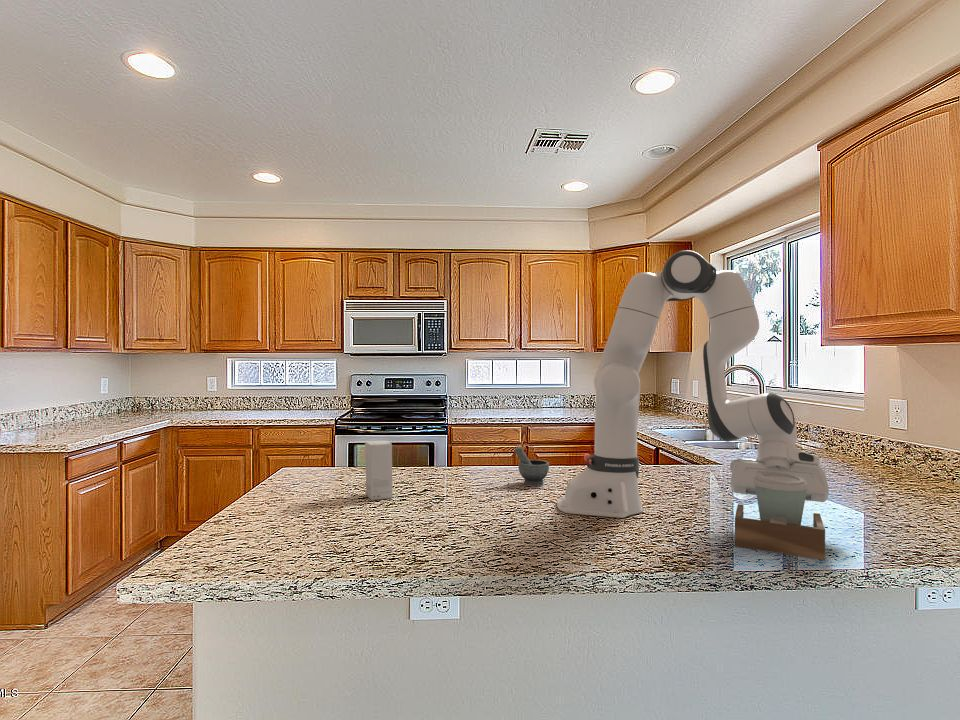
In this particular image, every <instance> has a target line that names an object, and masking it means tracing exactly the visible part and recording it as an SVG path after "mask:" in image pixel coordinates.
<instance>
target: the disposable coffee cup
mask: <svg viewBox="0 0 960 720" xmlns="http://www.w3.org/2000/svg"><path fill="white" fill-rule="evenodd" d="M753 484H755V488H756V494H757V495H756V500H757V507H758V512H759V520H763V521H770V516H776V517H784V518H787V524H795V525H802V519H803V514H804V507H805V501H806V500H805V497H806V491H807V489H808V487H807V482H806V481H804V479H803V478H801V477H799V476H796V475H792V474H788V473H784V472H778V471H769V470H761V471H758V472H756V477H754V481H753Z"/></svg>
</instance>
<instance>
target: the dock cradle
mask: <svg viewBox="0 0 960 720" xmlns="http://www.w3.org/2000/svg"><path fill="white" fill-rule="evenodd" d="M812 517H813V518H812V520H813V521H812V524H813V525H812V526H809V525H808V526H807V525H802V524H801V525H795V524H787V518H784V517H776V516H770V521H763V520H760V519H754V518H746V517H744V504H741V503H740V504H739V503H738V504H737V507H736V511H735V515H734V547H737V548H744V549H749V548H750V549H751V550H757V551H763V552H771V553H778V554H783V555H791V556H795V557H803V558H808V559H816V560H821V561H822V560H823V561H825V560H826V528H825V526H824V523H823V520H822V516H821V513H815V512H813V516H812Z"/></svg>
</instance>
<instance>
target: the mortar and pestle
mask: <svg viewBox="0 0 960 720" xmlns="http://www.w3.org/2000/svg"><path fill="white" fill-rule="evenodd" d="M523 449H524V448H523V446H521V445H520V446H518V447H516V448H514V453H516V455H517V458H518V460H519V461H518V471H519V474H520V476H521V477H522V478H523V479H524V480H523V485H525V486H527V487H541V486H544V479H545V478H546V477H547V475H548V474H549V469H550V462H549V461H547V460H541V459H529V458H528V456H527V454H526V453H525V452H524V450H523Z"/></svg>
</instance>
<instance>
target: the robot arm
mask: <svg viewBox="0 0 960 720" xmlns="http://www.w3.org/2000/svg"><path fill="white" fill-rule="evenodd" d="M694 298H697V299H699V301H700V302H702V304H703V306H704V308H705V310H706V315H707V318H708V321H709V327H710V330H709V336H708V340H707V341H706V342H705V343H704V345H703V351H702V352H703V353H702V356H703V357H702V358H703V360H702V361H703V369H704V370H703V371H704V379H705V388H706V398H707V422H708V427H709V430H710V431H711V432H710V433H712V434H713V435H714V436H715V437H716V438H718V439H720V440H722V441H724V442H726V443H728V442H731V441H737V440H740V439H743V438H748V437H755V436H757V440H758V446H757V450H756V451H757V453H756V459H753V458H742V457H741V458H738V457H737V459H734V460H732V461H731V462H730V463H729V466H730V467H729V470H730V471H731V476H730V489H731V490H732V492H733V493H735V494H741V495H752V496H757V494H756V488H755V484H753V481H754V477H756V472H758V471H761V470H769V471H778V472H784V473H788V474H792V475H796V476H799V477H801V478H803V479H804V481H806V482H807V487H808V489H807V491H806V497H805V501H807V502H818V503H825V502H826V501H828V499H829V495H830V493H829V492H830V491H829V483H828V479H827V475H826V472H825V471H824V469H823V468H821V461H820V457H819V456H817V455H815V454H812V453H807V452H805V451H802V450H799V449H798V447H797V446H796V445H797V441H798V433H797V432H798V428H797V424H796V419H795V414H794V411H793V409H792V407H791V405H790V404H789V402H788V401H787V400H786V399H785V398H782V397H781V396H780V395H778V394H776V393H774V392H765V393H760V394H755V395H751V396H747V397H743V398H742V397H741V398H738V399H733V400H729V399H728V394H727V385H726V384H727V383H726V376H725V367H726V365H727V363H728V362H729V360H731V358H732V357H733V356H735V355H736V354H737V353H739V352H740V351H741V350H743V349H745V348H746V347H748V345H750V344H751V342H752V341H754V339H755V337H756V336H758V335H757V334H758V332H759V329H760V321H759V320H760V319H759V315H758V311H757V308H756V305H755V302H754V300H753V297H752V294H751V293H750V290H749V288H748V285H747V283H746V282H745V280H744V278H743V277H742V276H741V274H740V273H738V272H737V271H736V270H732V269H731V270H727V269H723V270H720V271H717V268H716V267H715V266H713V265H712V264H711V263H710V262H709V261H708V260H707V259H705V257H703V256H702V255H701V254H699V253H698V252H695V251H694V250H688V249H687V250H680V251H678V252H675V253H674V254H672V255H671V256H670V257H668V259H667V260H666V261H665V263H664V265H663V268H662V270H661V271H660V272H657V273H655V272H654V273H653V272H648V271H647V272H645V271H643V272H638V273H636V274H634V275H633V276H632V277H631V278H630V280H629V281H628V283H627V285H626V287H625V289H624V291H623V293H622V296H621V299H620V301H619V303H618V307H617V310H616V314H615V317H614V319H613V323H612V325H611V328H610V332H609V336H608V338H607V341H606V343H605V346H604V349H603V352H602V355H601V358H600V360H599V363H598V366H597V369H596V372H595V375H594V378H593V385H594V389H595V393H596V394H595V412H594V413H595V417H594V418H595V419H594V453H593V454H591V455H590V453H585V454H584V455H583V459H584V462H586V468H585V469H584V470H582V471H581V472H580V473H578V474H577V475H575V476H574V477H572V478H571V479H570V480H569V481H568V483H567V485H566V488H565V492H564V493H565V494H564V496H561V497H559V498H557V502H556V507H557V509H558V510H559V511H561V512H563V513H565V514H570V515H571V514H573V515H584V516H586V515H587V516H598V517H608V518H620V519H623V518H626V517H628V516H632V515H637V514H640V513H642V512H643V511H644V508H643V505H642V502H641V501H642V500H641V495H640V492H639V491H640V490H639V481H638V478H639V474H640V460H639V456H638V422H639V415H640V414H639V412H640V411H639V410H640V402H641V401H640V398H641V378H640V376H639V375H640V372H641V369H642V367H643V365H644V362H645V360H646V357H647V355H648V352H649V351H650V349H651V345H652V342H653V340H654V337H655V334H656V331H657V327H658V324H659V321H660V318H661V314H662V311H663V308H664V306H665V304H666V302H684V301H689V300H693V299H694Z"/></svg>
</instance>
